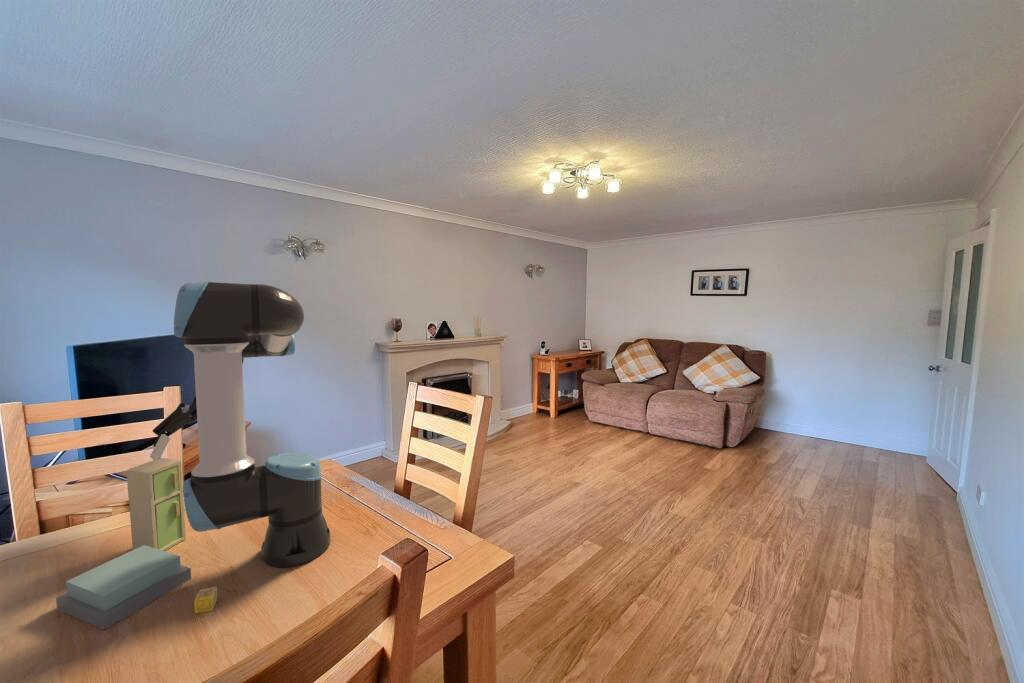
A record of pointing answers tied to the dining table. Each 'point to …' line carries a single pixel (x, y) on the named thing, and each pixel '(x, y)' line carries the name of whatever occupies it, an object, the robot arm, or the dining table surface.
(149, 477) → the toy refrigerator
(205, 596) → the alphabet block
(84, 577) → the brick stand
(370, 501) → the dining table surface
